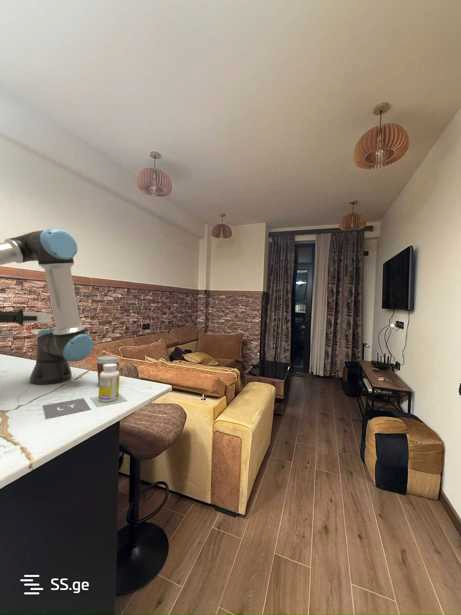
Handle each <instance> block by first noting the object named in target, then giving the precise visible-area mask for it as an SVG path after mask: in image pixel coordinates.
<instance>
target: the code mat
mask: <svg viewBox="0 0 461 615" xmlns="http://www.w3.org/2000/svg"><path fill="white" fill-rule="evenodd" d="M42 410H43V412H44V419H45V420H49V419H53V418H58V417H62V416H68V415H73V414H77V413H81V412H86V411H91V410H92V409H91V407H90V406H89V404H88V402H87V401H86V399H85V398H84V397H83V398H77V399H71V400H67V401H66V400H65V401H61V402H54V403H48V404H45V405H44V404H43V405H42Z"/></svg>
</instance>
